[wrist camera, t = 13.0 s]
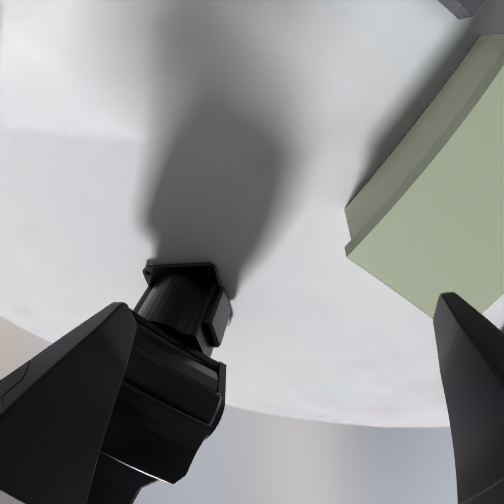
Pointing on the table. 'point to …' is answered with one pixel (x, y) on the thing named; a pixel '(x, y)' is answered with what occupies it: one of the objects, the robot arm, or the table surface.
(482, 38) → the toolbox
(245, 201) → the table surface
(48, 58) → the table surface
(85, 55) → the table surface
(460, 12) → the dark grey square frame
